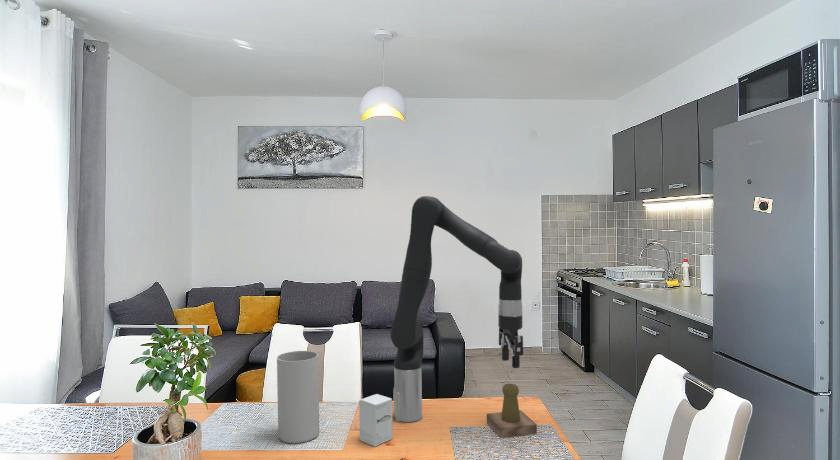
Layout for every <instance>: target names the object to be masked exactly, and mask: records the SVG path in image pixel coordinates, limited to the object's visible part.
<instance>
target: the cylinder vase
mask: <svg viewBox="0 0 840 460" xmlns="http://www.w3.org/2000/svg"><path fill="white" fill-rule="evenodd" d="M276 374H277V376H276V378H277V379H276V380H277V381H276V382H277V384H276V385H277V388H276V389H277V436H278V439H279V440H280V441H281V442H283V443H288V444H301V443H306V442H310V441H312V440H314V439H316V438H317V436H319V434H320V389H319V388H320V387H319V384H320V382H319V354H318V352H315V351H313V350H312V351H311V350H294V351H288V352H283V353H281V354H279V355H277V356H276Z"/></svg>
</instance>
